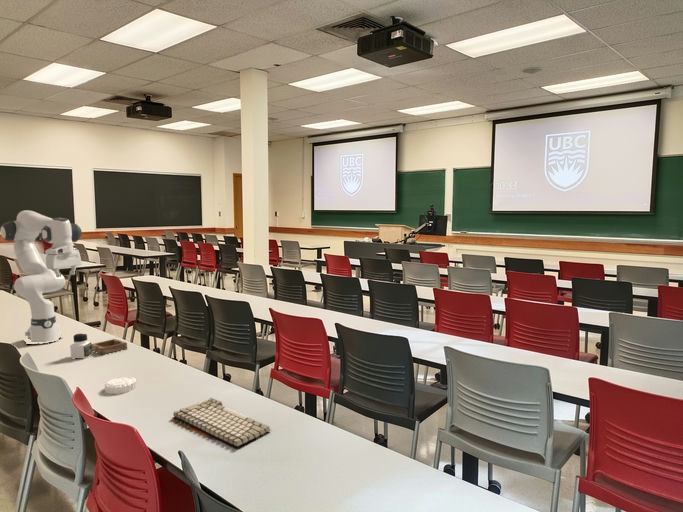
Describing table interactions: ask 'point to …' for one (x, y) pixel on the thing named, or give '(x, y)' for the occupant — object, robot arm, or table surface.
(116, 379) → the mooncake
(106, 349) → the brown wooden tray
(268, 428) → the mechanical keyboard
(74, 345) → the medicine bottle
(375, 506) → the table surface
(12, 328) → the table surface
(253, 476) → the table surface
